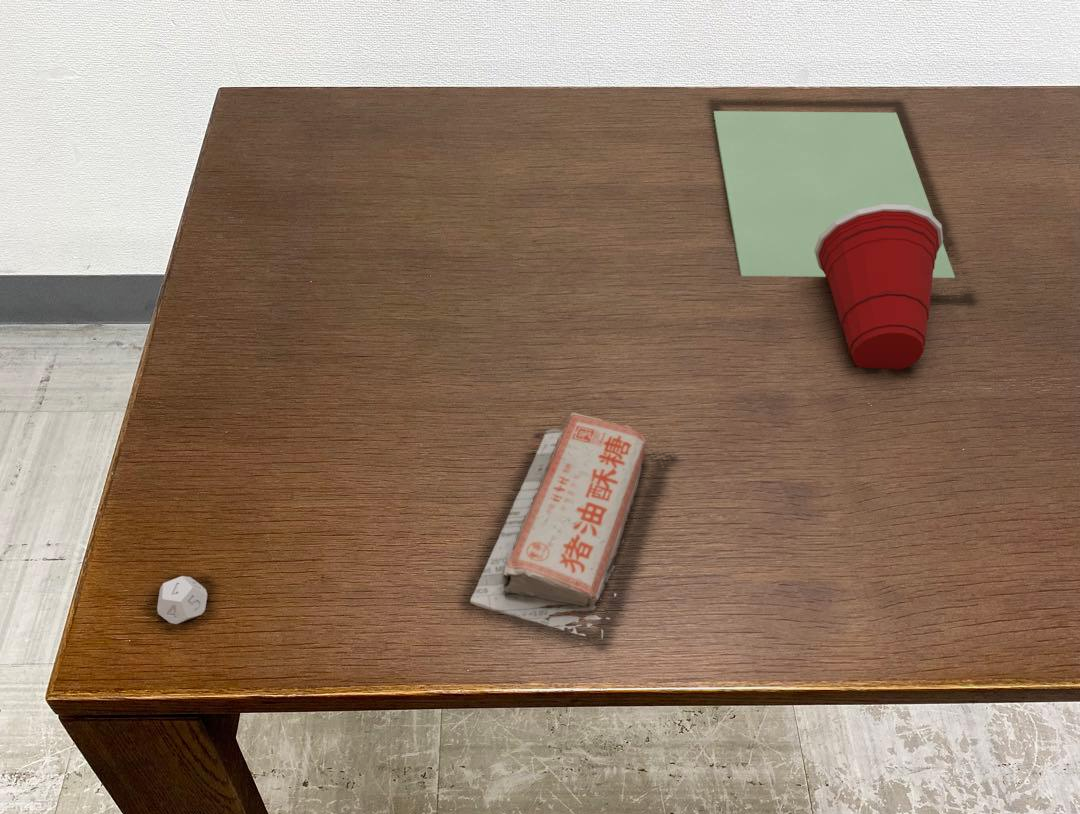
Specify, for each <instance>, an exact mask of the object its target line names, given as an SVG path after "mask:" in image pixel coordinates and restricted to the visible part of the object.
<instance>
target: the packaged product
mask: <svg viewBox="0 0 1080 814" xmlns="http://www.w3.org/2000/svg"><path fill="white" fill-rule="evenodd" d="M565 423H566V425H565V427H564V428H563V429H562V430H560V429H558V428H552V429H547V430H545V432H544V434H543V437H542V441H540V444H539V446H538V449H537V451H536V453H535V455H534V458H533V460H532V462H531V465H530V467H529V468H528V472H527V473H526V476H525V478H524V479H523V483H522V484H521V487H520V490H519V491H518V494H517V495H516V498H515V499H514V502H513V504H512V505H511V509H510V511H509V513H508V515H507V518H506V520H505V523H504V525H503V527H502V529H501V531H500V533H499V536H498V539H497V541H496V543H495V545H494V547H493V548H492V551H491V554H490V556H489V557H488V560H487V563H486V565H485V567H484V568H483V571H482V573H481V576H480V578H479V580H478V583H477V585H476V587H475V589H474V592H473V593H472V595H471V597H470V601H469V602H470V604H471V605H474V606H476V607H479V608H481V609H482V608H483V609H485V610H489V611H492V612H497V613H499V614H502V615H503V614H504V615H508V616H510V617H514V618H518V619H521V620H525V621H529V622H534V623H537V624H540V625H544V626H547V627H551V628H555V629H558V630H561V631H565V629H567V630H571V629H572V631H567V632H568V633H571V634H575V635H579V636H583V637H587V636H586V634H584V633H578V632H577V628H576V627H580V626H581V627H582V624H577V625H571V626H570V625H568V624H571V623H573V622H574V623H579V621H580V617H579V616H574V615H560V616H550V615H555V614H556V613H565V612H573V611H576V612H589V611H594V610H595V609H597V606H596V605H595V604H596V603H597V602H598V600H599V601H602V598H600V597H601V595H602V592H603V591H604V589H605V586H606V585H605V584H607V582H608V581H609V578H610V576H611V573H612V572H613V571H614V570H615V567H616V566H615V565H614V559H615V558H616V556H617V555H618V548H619V547H620V544H621V540H622V539H623V540H622V541H625V540H624V538H622V537H623V535H624V534H623V533H624V531H625V527H626V526H625V524H626V523H627V522H628V515H630V513H631V507H632V506H633V504H634V497H635V496H636V492H637V489H638V486H639V480H640V476H641V473H642V465H643V462H644V461H643V460H644V457H645V456H644V455H645V451H646V449H645V448H646V445H647V440H646V437H645V435H643V434H642V433H639V431H636V430H635V429H634V428H632V427H631V426H630V425H627V424H624V425H622V424H618V423H616V422H609V421H606V420H603V419H602V418H597V417H594V416H589V415H584V414H580V413H577V412H573V411H572V412H571V413H570V414H569V417H568V419H567V420H566V422H565ZM613 597H617V593H615V592H614V595H613ZM547 606H553V607H551V608H547ZM557 606H560V607H557ZM601 619H602V617H599V616H598V615H596V614H591V615H586V616H584V617H583V620H586V621H589V620H590V621H596V620H597V621H598V620H601ZM605 619H606V620H611V618H610V617H605ZM591 626H593V623H587V624H586V628H590V627H591ZM600 630H601V638H603V637H604V630H603V629H602V628H601V629H600Z"/></svg>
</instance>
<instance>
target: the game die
mask: <svg viewBox="0 0 1080 814" xmlns="http://www.w3.org/2000/svg"><path fill="white" fill-rule="evenodd" d="M157 600H158V601H157V607H156V609H157V615H159V616H160V617H162V618H163V619H164V620H166V621H167V622H168V623H170V624H174V625H179V624H181V623H183V622H187V621H188V620H191V619H194V618H197V617H200V616H201V615H202V614H204V612H205V611H206V607H207V600H208V592H207V589H206V588H205V587H204V586H203V585H202V584H200V583H199V582H198V581H196V580H195V579H194V578H192V577H191V576H187V575H180V576H179V577H175V578H173V579H171V580H167V581H165V582H162V584H161V586H160V588H159V593H158V599H157Z"/></svg>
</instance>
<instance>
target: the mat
mask: <svg viewBox="0 0 1080 814" xmlns="http://www.w3.org/2000/svg"><path fill="white" fill-rule="evenodd" d="M713 113H714V115H713V120H715V121H714V125H715V126H714V127H715V133H716V139H717V145H718V151H719V156H720V162H721V167H722V175H723V181H724V186H725V193H726V199H727V205H728V211H729V216H730V223H731V228H732V234H733V240H734V246H735V247H734V248H735V252H736V259H737V265H738V269H739V276H740V277H801V278H803V277H805V278H806V277H809V278H811V277H814V278H816V277H819V278H821V277H823V278H826V276H825V274H824V271H822V270H821V269H820V268H819V266H818V262H817V259H816V255H815V252H814V249H815V247H816V244H817V241H818V239H819V236H820V235H821V234H822V233H823V232H824V231H825V230H826V229H827V228H828V227H829V226H830V225H831V224H832V223H833V222H834V221H836V220H838V219H840V218H842V217H844V216H846V215H848V214H850V213H852V212H854V211H856V210H859V209H864V208H868V207H873V206H878V205H882V204H892V205H910V206H913V207H916V208H919V209H922V210H924V211H927V212H930V213H931V214H932V215H933V216H934V214H933V211H932V209H931V206H930V203H929V200H928V198H927V197H928V196H927V194H926V192H925V189H924V185H923V183H922V181H921V178H920V174H919V172H918V169H917V166H916V163H915V161H914V158H913V155H912V152H911V149H910V147H909V144H908V141H907V139H906V135H905V133H904V129H903V127H902V124H901V121H900V119H899V116H898V113H897V112H886V111H885V112H878V111H877V112H871V111H870V112H869V111H867V112H865V111H862V112H861V111H859V112H858V111H765V110H763V111H758V110H757V111H753V110H751V111H749V110H748V111H747V110H745V111H744V110H742V111H741V110H713ZM933 278H934V279H935V278H937V279H938V278H939V279H940V278H941V279H946V278H947V279H955V278H956V275H955V273H954V270H953V267H952V265H951V262H950V259H949V256H948V253H947V251H946V247H945V245H944V242H942V245H941V247H940V249H939V250H938V252H937V257H936V260H935V267H934V270H933V277H932V279H933Z"/></svg>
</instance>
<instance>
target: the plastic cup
mask: <svg viewBox="0 0 1080 814" xmlns="http://www.w3.org/2000/svg"><path fill="white" fill-rule="evenodd" d="M932 214H933V213H932ZM932 214H931V213H930V212H927V211H924V210H922V209H919V208H916V207H913V206H910V205H892V204H882V205H878V206H873V207H868V208H864V209H859V210H856V211H854V212H852V213H850V214H848V215H846V216H844V217H842V218H840V219H838V220H836V221H834V222H833V223H832V224H831V225H830V226H829V227H828V228H827V229H826V230H825V231H824V232H823V233H822V234H821V235H820V236H819V239H818V241H817V244H816V247H815V249H814V252H815V255H816V259H817V262H818V266H819V268H820V269H821V270H822V271H824V274H825V276H826V277H825V279H826V281H827V283H828V287H829V289H830V291H831V294H832V297H833V301H834V304H835V308H836V311H837V312H836V313H837V316H838V320H839V323H840V326H841V327H840V328H841V330H842V334H843V335H844V337H845V341H846V343H847V347H848V351H849V355H850V358H851V359H852V361H853V364H854V365H855V366H857V367H858V368H864V369H866V368H867V369H885V370H904V369H907V368H909V367H911V366H913V365H914V364H915V363H916V362H918V361H919V360H920V358H921V357H922V355H923V353H924V349H925V346H926V340H927V329H928V320H929V319H930V309H931V308H930V307H931V306H930V305H931V300H932V299H931V298H932V297H931V296H932V286H933V278H932V277H933V270H934V267H935V260H936V257H937V252H938V250H939V249H940V247H941V245H942V242H943V241H944V235H943V225H942V223H941V222H940V221H939V220H938V219H937V218H936V217H935V216H934V214H933V215H932ZM943 243H944V242H943Z"/></svg>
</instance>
